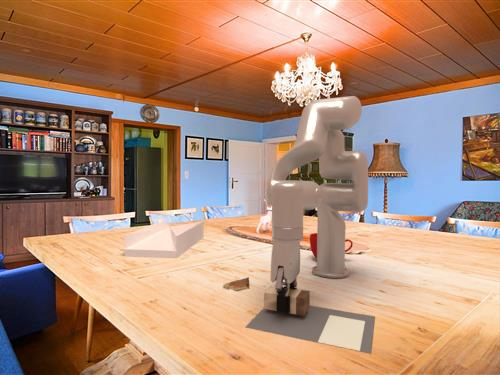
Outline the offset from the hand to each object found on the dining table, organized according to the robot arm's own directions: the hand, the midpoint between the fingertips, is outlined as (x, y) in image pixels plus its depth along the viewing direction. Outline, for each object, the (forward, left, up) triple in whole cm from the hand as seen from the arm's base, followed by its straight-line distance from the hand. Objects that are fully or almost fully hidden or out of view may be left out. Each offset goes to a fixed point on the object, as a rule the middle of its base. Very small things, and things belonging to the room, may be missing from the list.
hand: (286, 306), depth 80 cm
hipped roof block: (-52, -74, -3) cm, 90 cm away
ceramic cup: (-58, +1, -2) cm, 58 cm away
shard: (-13, -20, -3) cm, 24 cm away
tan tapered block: (0, 0, 0) cm, 0 cm away
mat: (+2, +7, -2) cm, 8 cm away
